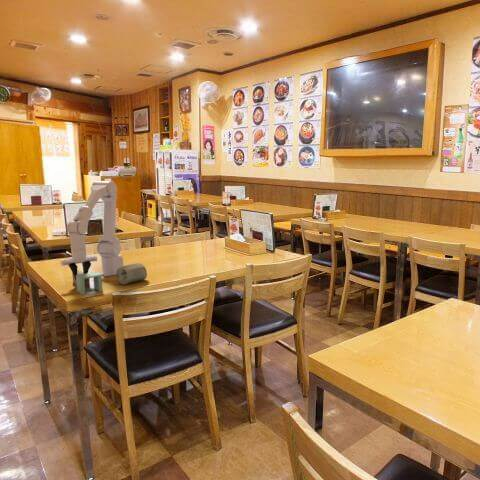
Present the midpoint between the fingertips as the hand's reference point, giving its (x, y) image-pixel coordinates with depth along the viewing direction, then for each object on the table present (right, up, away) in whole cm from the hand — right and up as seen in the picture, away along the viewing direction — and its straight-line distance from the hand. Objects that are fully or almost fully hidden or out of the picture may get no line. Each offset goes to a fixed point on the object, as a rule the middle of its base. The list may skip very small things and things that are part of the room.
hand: (80, 279), depth 176 cm
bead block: (+7, -4, -9) cm, 12 cm away
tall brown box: (0, -3, 0) cm, 3 cm away
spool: (+21, -2, +5) cm, 22 cm away
